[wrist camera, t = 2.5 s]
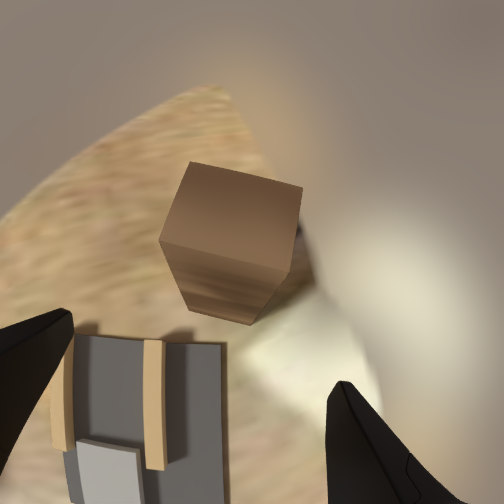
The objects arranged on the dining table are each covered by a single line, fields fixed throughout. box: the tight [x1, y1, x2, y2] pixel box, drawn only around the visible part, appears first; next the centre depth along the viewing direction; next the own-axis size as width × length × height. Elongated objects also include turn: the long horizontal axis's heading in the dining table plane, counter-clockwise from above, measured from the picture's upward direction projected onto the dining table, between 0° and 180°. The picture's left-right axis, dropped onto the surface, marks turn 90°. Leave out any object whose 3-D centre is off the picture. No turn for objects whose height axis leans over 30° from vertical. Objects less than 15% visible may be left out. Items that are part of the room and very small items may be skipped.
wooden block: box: [159, 162, 303, 326], centre depth 16 cm, size 4×4×12 cm
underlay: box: [50, 334, 224, 504], centre depth 16 cm, size 14×12×2 cm
